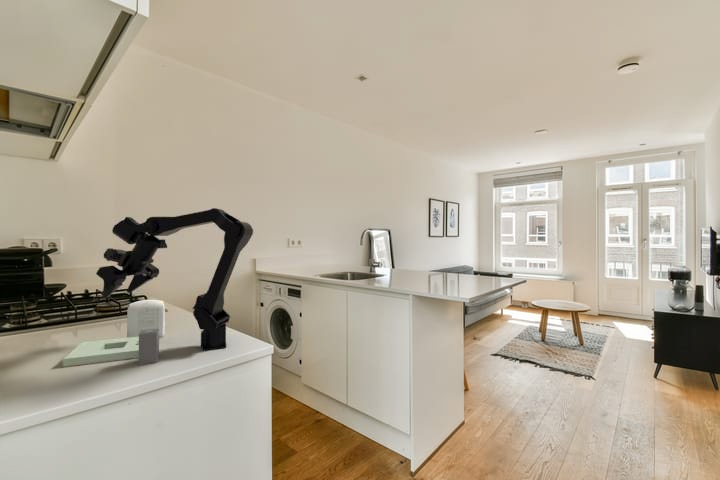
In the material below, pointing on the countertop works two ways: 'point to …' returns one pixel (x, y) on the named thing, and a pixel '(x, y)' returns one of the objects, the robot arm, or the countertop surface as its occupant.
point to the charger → (148, 346)
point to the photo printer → (145, 317)
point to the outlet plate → (103, 351)
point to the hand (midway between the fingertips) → (116, 294)
